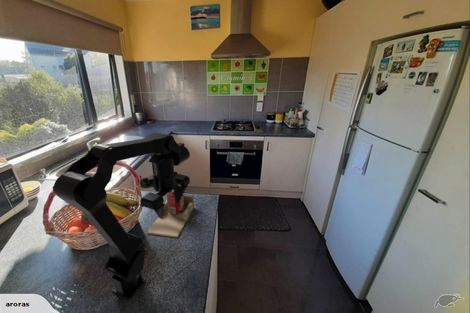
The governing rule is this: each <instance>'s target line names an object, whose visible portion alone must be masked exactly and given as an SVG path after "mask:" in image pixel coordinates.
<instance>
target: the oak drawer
mask: <svg viewBox="0 0 470 313" xmlns="http://www.w3.org/2000/svg"><path fill="white" fill-rule="evenodd" d="M183 195H184V210H183V211H182V212H181V213H179V214H171V213H170V212H169V210H168V204H167V199H166V200H164V202H163V203H164V204H165V206H164V213H163V218H162V219H161V218H159V217H158V216H157V218H156V220H155V221H154V223H152V224H151V226H150V228H149V229H148V230H147V232H146V234H147V235H152V236H153V235H154V236H160V237H161V236H162V237H170V238H178V237H179V236H180V234H181V233H182V230H183V229H184V227H185V225H186V223H187V221H188V219H189V218H190V215H191V214H192V212H193V210H194V208H195V204H194V202H195V201H194V195H193V194H185V193H184V194H183Z"/></svg>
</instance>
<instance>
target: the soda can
mask: <svg viewBox="0 0 470 313" xmlns="http://www.w3.org/2000/svg"><path fill="white" fill-rule="evenodd" d="M166 200H167V204H168V210H169V212H170V213H171V214H179V213H181V212H182V211H183V210H184V195H183V196H182V198H181V200H180V203H179V204H178V203H176V200H175V194H174V189H173V190H172V191H171V192H169V193H168V194H167V195H166Z"/></svg>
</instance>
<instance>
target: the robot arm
mask: <svg viewBox="0 0 470 313" xmlns="http://www.w3.org/2000/svg"><path fill="white" fill-rule="evenodd" d="M149 154H152V155H151V157H150V158H149V159H148V162H149V163H152V164H154V166H155V174H152V175H149V176H148V177H143V178H141V179H139V184H140V187H141V188H142V189H149V188H150V189H151V188H153V190H156V191H157V190H158V191H157V193H155V192H150V191H149V192H148V193H146V194H145V195H143V196H142V197H141V198H140V200H139V202H140V206H141V207H144V208H146V209H150V210H153V211H154V213H155V214H156V215H157V218H158V217H159V218H161V219H162V218H163V213H164V206H165V204H164V203H165V200H164V199H165V197H166V196H167V194H168V193H169V192H171V191H172V190H173V189H174V194H175V200H176V203H178V204H179V203H180V200H181V198H182V196H183V194H185V191H186V189H187V188H188V187H189V184H190V183H191V179H190V177H189V176H188V175H185V174H181V173H178V172H176V171H175V167H177V166H179V165H181V164H182V163H184V162H185V161H187V160H189V159H190V155H191V152H190V151H189V149H188V148H187V147H186V146H185V143H183V142H179V143H178V142H177V141H176V140H175V136H173V135H172V134H166V133H160V132H153V133H150V134H147V135H145V137H144V138H139V139H133V140H126V141H119V142H112V143H106V144H102V143H99V144H96V145H93V146H92V147H91V148H90V149H89V151H87V153H86V154H84V155H83V156H82V157H80V158H78V159H77V160H76V161H74V162H72V164H70V165H69V167H68V168H67V169H66V170H65V171H64V172H63V173H62V174H60V176H59V177H57V178H56V180H55V182H54V183H53V186H52V191H53V193H54V195H56V197H58V198H60V199H61V200H63V201H64V202H65V203H66V204H68V205H70V206H72V207H73V208H75V209H77V210H78V211H80V212H81V213H82V214H83V215H84V216H85V217H86V219H87V220H88V221H89V223H90V224H91V225H92V226H93V227H94V228H95V229H96V231H97V232H98V233H99V235H101V237H102V238H103V239H104V240H105V242H107V244H108V245H109V248H108V253H109V254H110V256H109V258H108V259H107V262H106V264H105V266H104V269H103V270H105V271H106V272H108V273H111V274H113V276H112V277H111V279H112V282H113V287H112V288H111V290H112V292H113V293H115V294H117V295H119V296H120V297H122V298H125V300H130V299H131V298H132V296H133V295H134V294H135V293H136V292H137V290H138V289H139V288H140V287H141V286H143V284H144V282H145V281H146V277H145V276H143V273H142V272H143V269H144V266H145V265H144V264H145V259H146V258H145V257H146V251H147V249H146V248H145V247H146V244H145V243H144V242H143V239H142V238H141V237H140V236H138V235H134V234H133V233H130V232H127V231H126V230H125V228H124V227H123V226H122V224H121V223H120V222H119V220H118V218H117V217H116V216H115V214H114V213H113V211H112V210H111V208H110V207H109V205H108V204H107V197H108V193H107V190H106V187H107V186H108V184H109V183H110V182H111V180H112V177H113V176H112V175H113V170H114V166H115V165H116V164H117V162H120V161H124V160H128V159H132V158H137V157H139V156H144V155H145V156H146V155H149ZM95 167H97V169H96V171H95V173H94V175H93V176H92V175H89V174H87V173H89V172H90V171H91V170H93V169H94V168H95Z"/></svg>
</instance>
